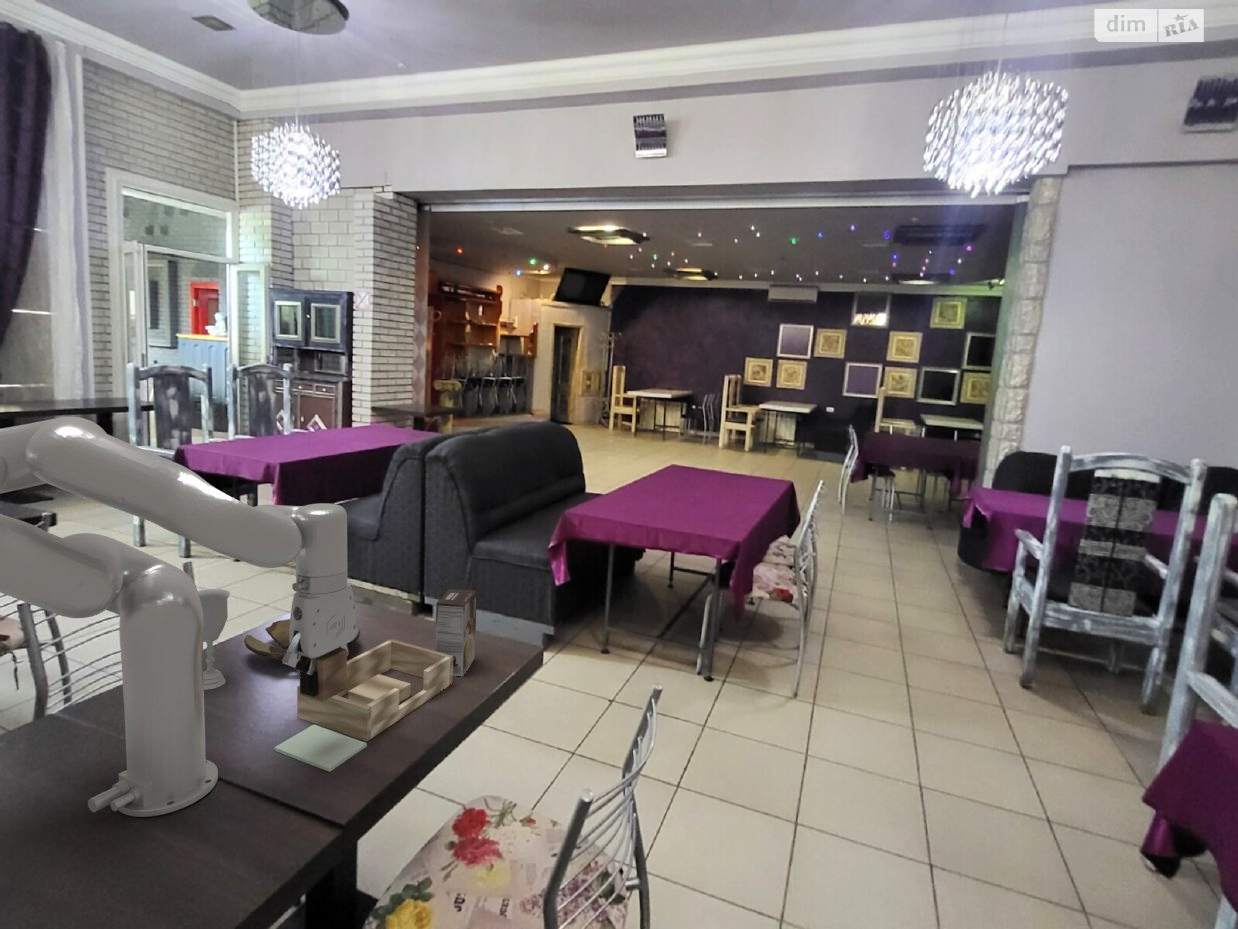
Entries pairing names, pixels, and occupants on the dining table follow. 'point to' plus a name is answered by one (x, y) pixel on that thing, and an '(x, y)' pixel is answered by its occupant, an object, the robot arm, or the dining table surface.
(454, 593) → the coffee box
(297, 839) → the dining table surface
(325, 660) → the block
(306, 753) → the mat
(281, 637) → the broken brown bowl
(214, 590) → the chalice
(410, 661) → the crate
